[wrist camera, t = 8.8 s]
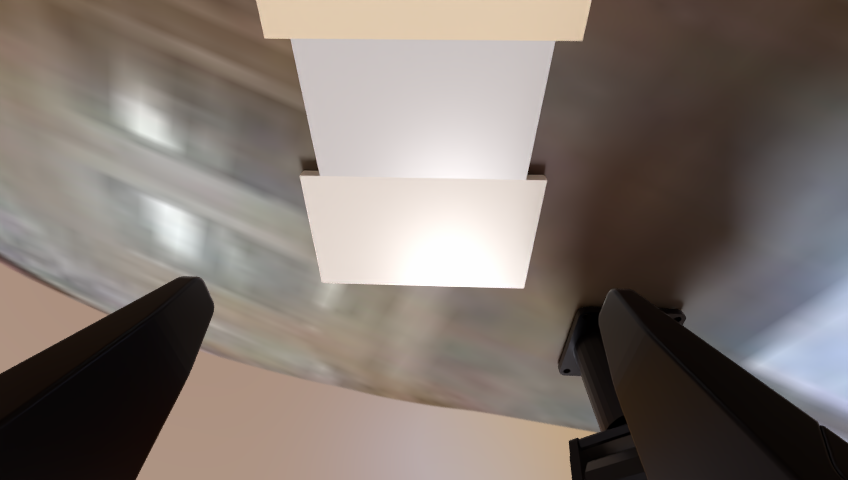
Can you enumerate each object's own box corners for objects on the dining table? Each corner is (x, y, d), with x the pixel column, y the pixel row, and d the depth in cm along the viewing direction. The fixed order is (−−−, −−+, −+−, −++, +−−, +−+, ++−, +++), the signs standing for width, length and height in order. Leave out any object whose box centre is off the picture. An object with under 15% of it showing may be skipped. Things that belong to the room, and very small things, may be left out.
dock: (522, 281, 22) (532, 321, 20) (324, 276, 23) (309, 315, 20) (730, -719, 7) (894, -1116, 5) (130, -690, 8) (-34, -1043, 5)
